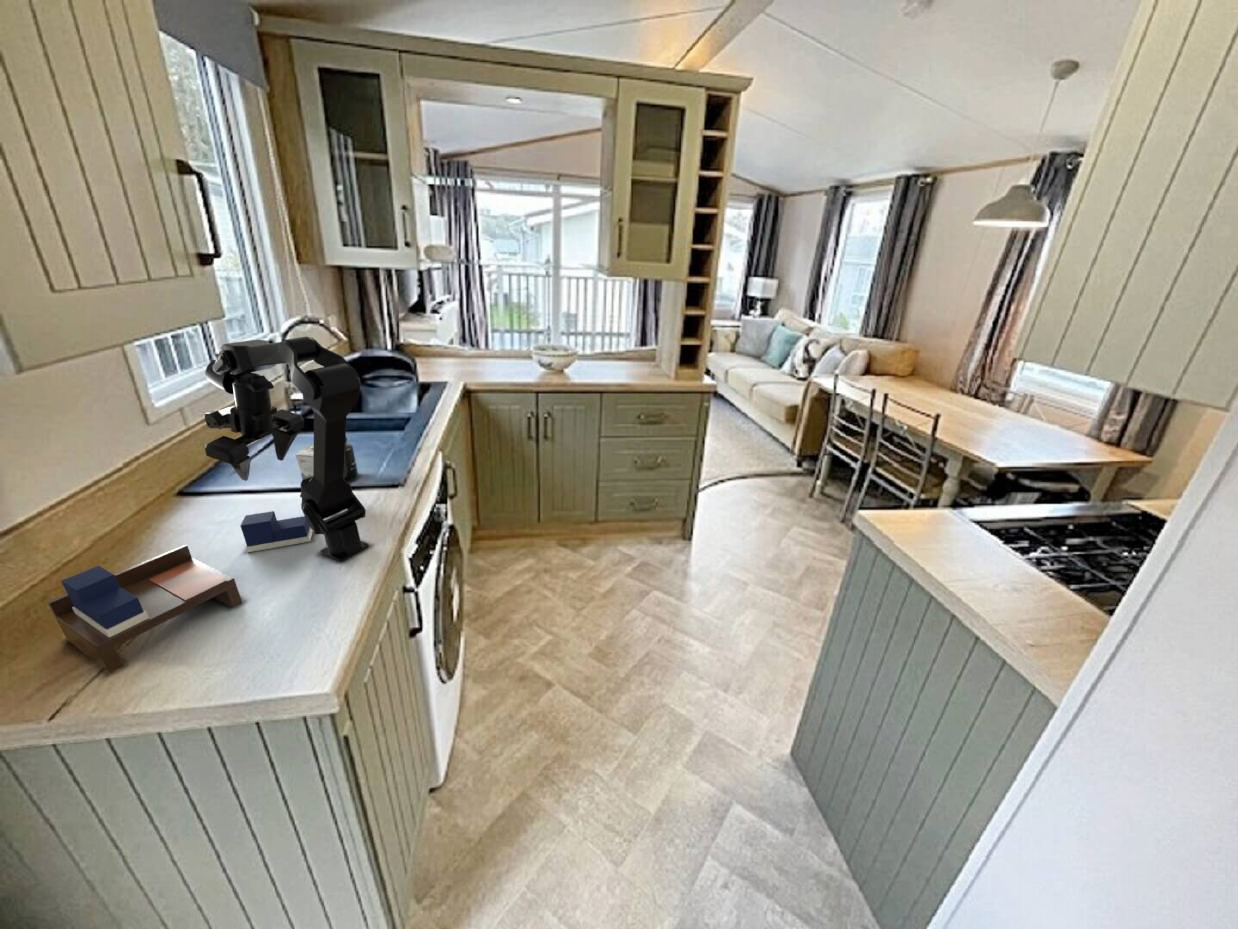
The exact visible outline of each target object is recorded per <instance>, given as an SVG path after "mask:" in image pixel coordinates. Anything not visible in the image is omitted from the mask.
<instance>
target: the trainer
mask: <svg viewBox="0 0 1238 929" xmlns="http://www.w3.org/2000/svg"><path fill="white" fill-rule="evenodd" d="M239 526H240V529H241V533H242V535H243V538H244V541H245V544H246V546H245V549H246V552H247V553H252V552H257V551H263V550H269V549H275V548H281V547H286V546H293V545H297V544H305V543H309V542H311V539H312V535H313V533H314V531H313V530H312V529H311V527H310V526H309V524H308V522H307V520H306V517H305V515H303V516H302V515H301V516H296V517H292V518H291V517H289V518H283V519H277V516H276V512H275V510H271V511H266V512H259V513H252V514H246V515H245V516H244V518H243V520H242V521H241V523H240V525H239Z"/></svg>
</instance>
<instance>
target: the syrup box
mask: <svg viewBox="0 0 1238 929" xmlns="http://www.w3.org/2000/svg"><path fill="white" fill-rule="evenodd" d="M295 458H296V461H297V465H298V469H299V472H300V476H301V481H302V480H304V479H307V478H309V477H312V476H313V461H314V445H310V446H308V447H306V448H303V449H301V450H300V451H299V452H298V453H296V454H295Z"/></svg>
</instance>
